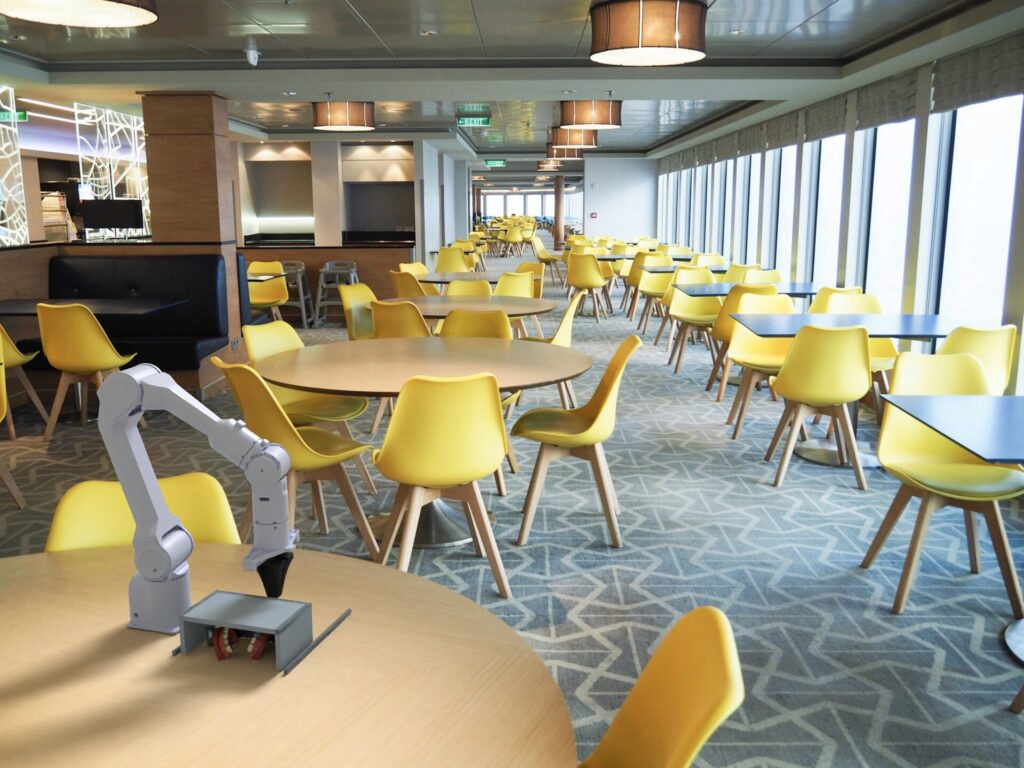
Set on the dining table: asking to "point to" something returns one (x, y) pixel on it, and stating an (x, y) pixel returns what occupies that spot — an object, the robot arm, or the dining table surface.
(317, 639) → the pin seat
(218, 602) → the housing
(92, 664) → the dining table surface
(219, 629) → the dentures
